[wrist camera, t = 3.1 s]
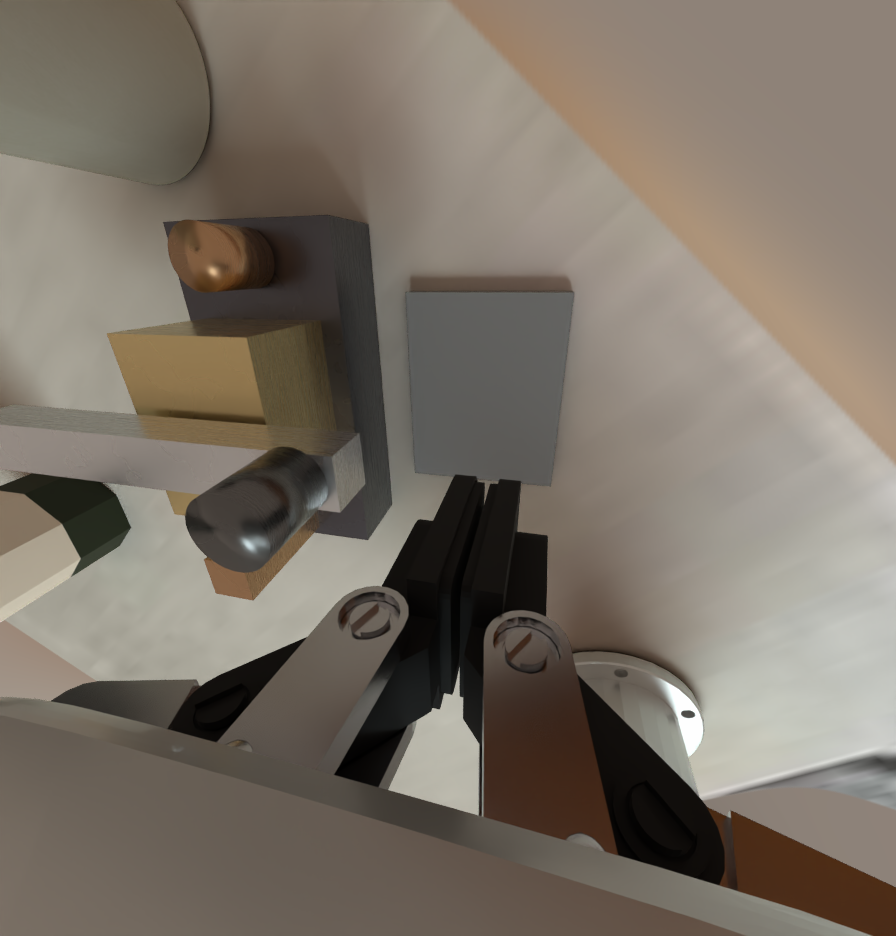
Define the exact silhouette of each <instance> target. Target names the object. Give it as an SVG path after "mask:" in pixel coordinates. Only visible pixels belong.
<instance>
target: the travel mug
mask: <svg viewBox="0 0 896 936" xmlns="http://www.w3.org/2000/svg"><path fill="white" fill-rule="evenodd" d="M209 120H210V97H209V87H208V80H207V75H206V70H205V66H204V62H203V58H202V55H201V52H200V49H199V46H198V43H197V41H196V38H195V36H194V33H193V31H192V29H191V27H190V25H189V23H188V21H187V19H186V17H185V16H184V14H183V12H182V10H181V9H180V7H179V6H178V4H177V3H176V1H175V0H0V153H1V154H6V155H11V156H16V157H20V158H25V159H30V160H35V161H40V162H45V163H50V164H55V165H60V166H64V167H69V168H74V169H79V170H84V171H89V172H94V173H99V174H104V175H109V176H113V177H118V178H123V179H128V180H133V181H138V182H143V183H148V184H153V185H166V184H171V183H174V182H176V181H178V180H180V179H182V178H183V177H184V176H186V175H187V174H188V173H189V172H190V171H191V170H192V169H193V168H194V166H195V165H196V163H197V162H198V160H199V158H200V156H201V154H202V152H203V149H204V146H205V143H206V139H207V135H208V129H209Z"/></svg>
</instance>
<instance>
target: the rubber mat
mask: <svg viewBox="0 0 896 936" xmlns="http://www.w3.org/2000/svg"><path fill="white" fill-rule="evenodd" d="M573 299H574V292H413V291H411V292H406V311H407V330H408V349H409V368H410V387H411V406H412V425H413V444H414V463H415V473H423V474H433V475H443V476H453V477H454V476H455V474H458V475H467V476H477V479H483V480H493V481H499V479H507V480H517V481H521V483H522V484H532V485H542V486H551V481H552V473H553V464H554V456H555V448H556V439H557V431H558V423H559V415H560V406H561V398H562V390H563V382H564V373H565V365H566V357H567V348H568V340H569V332H570V324H571V315H572V307H573Z"/></svg>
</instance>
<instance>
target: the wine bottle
mask: <svg viewBox="0 0 896 936" xmlns="http://www.w3.org/2000/svg"><path fill="white" fill-rule="evenodd" d="M130 528H131V527H130V525H129V523H128V521H127V518H126V516H125V514H124V512H123V509H122V507H121V505H120V503H119V500H118V498H117V496H116V495H115V494H114V493H113V492H111V491H110V490H109V489H108V488H106V487H105V486H104V485H103V484H102V483H100V482H98V481H90V480H82V479H75V478H67V477H59V476H51V475H43V474H36V473H32V474H30V475H27V476H24V477H22V478H19V479H17V480H14V481H12V482H9V483H7V484H4V485H2V486H0V622H1V621H3V620H5V619H6V618H8V617H10V616H11V615H13V614H14V613H16V612H17V611H19V610H20V609H22V608H24V607H25V606H27V605H28V604H30V603H31V602H33V601H34V600H36V599H38V598H39V597H41V596H42V595H44V594H45V593H47V592H48V591H50V590H52V589H53V588H55V587H56V586H58V585H59V584H61V583H62V582H64V581H66V580H67V579H69V578H70V577H72V576H73V575H75V574H76V573H78V572H80V571H81V570H83V569H84V568H86V567H87V566H89V565H90V564H92V563H94V562H95V561H97V560H98V559H100V558H101V557H103V556H104V555H106V554H108V553H109V552H111V551H112V550H114V549H115V548H117V547H118V546H120V544H121V543H122V541H123V540H124V538H125V536H126V535H127V533H128V531H129V530H130Z"/></svg>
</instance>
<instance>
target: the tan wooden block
mask: <svg viewBox="0 0 896 936" xmlns="http://www.w3.org/2000/svg"><path fill="white" fill-rule="evenodd" d="M107 335H108V338H109V341H110V343H111V346H112V349H113V351H114V354H115V357H116V359H117V362H118V365H119V367H120V370H121V373H122V375H123V378H124V381H125V383H126V386H127V389H128V391H129V394H130V397H131V399H132V402H133V404H134V407H135V410H136V412H137V415H148V416H161V417H173V418H185V419H197V420H209V421H222V422H234V423H246V424H258V425H270V426H283V427H295V428H307V429H319V430H332V431H336V424H335V417H334V410H333V403H332V396H331V389H330V382H329V376H328V369H327V362H326V355H325V348H324V341H323V334H322V327H321V320H269V319H215V318H207V319H200V320H193V321H187V322H180V323H173V324H167V325H160V326H153V327H147V328H140V329H133V330H127V331H120V332H113V333H107ZM166 492H167V495H168V498H169V500H170V503H171V506H172V508H173V511H174V514H177V515H184V516H185V514H186V509H187V507H188V505H189V503H190V502H191V501H192V500H193V499H195V498H196V497H198V496H199V494H191V493H184V492H176V491H168V490H166Z"/></svg>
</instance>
